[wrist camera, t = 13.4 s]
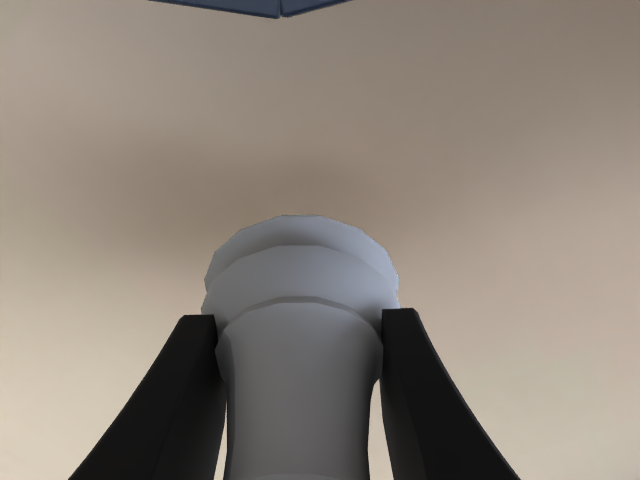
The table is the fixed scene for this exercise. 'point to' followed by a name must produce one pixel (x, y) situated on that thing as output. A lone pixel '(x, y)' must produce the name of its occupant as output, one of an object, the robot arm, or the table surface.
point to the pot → (259, 6)
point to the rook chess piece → (299, 345)
